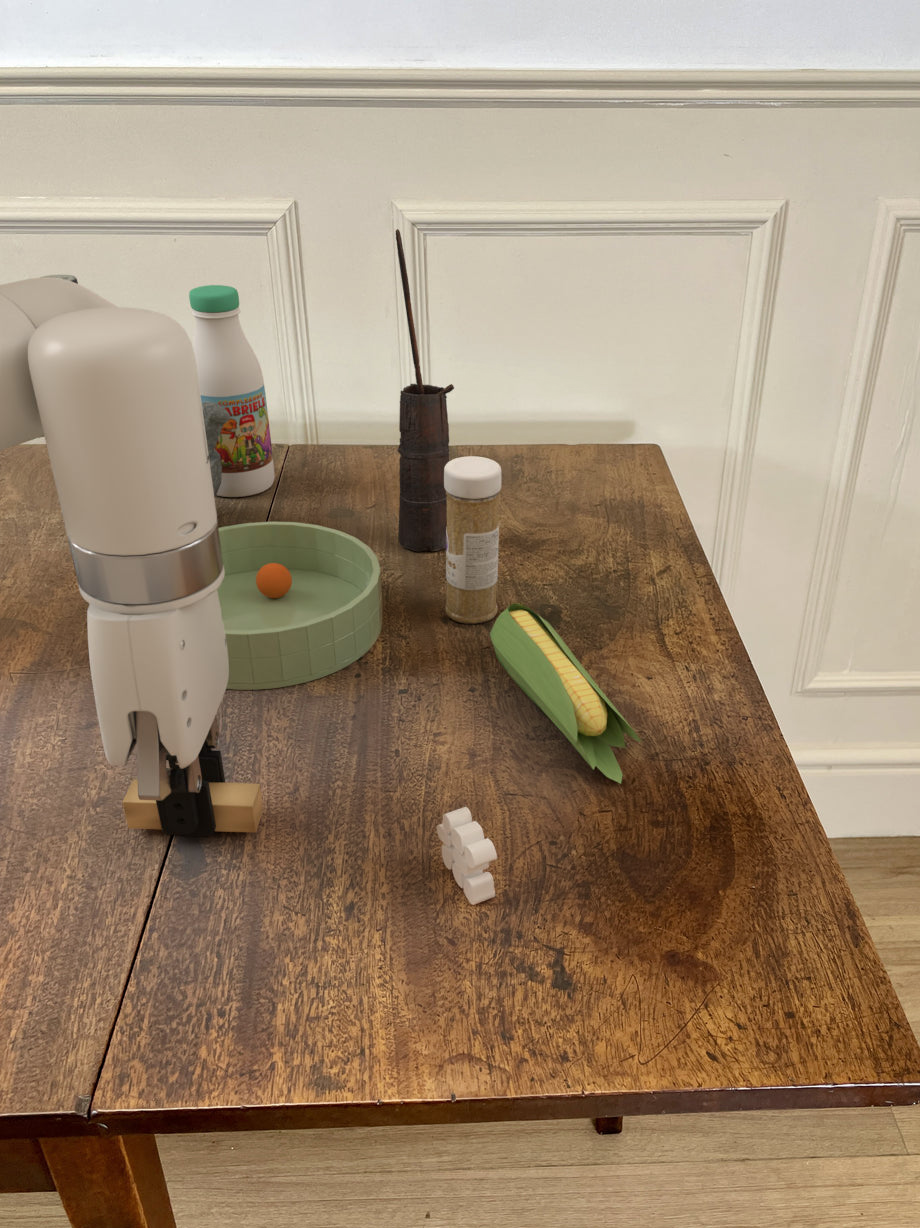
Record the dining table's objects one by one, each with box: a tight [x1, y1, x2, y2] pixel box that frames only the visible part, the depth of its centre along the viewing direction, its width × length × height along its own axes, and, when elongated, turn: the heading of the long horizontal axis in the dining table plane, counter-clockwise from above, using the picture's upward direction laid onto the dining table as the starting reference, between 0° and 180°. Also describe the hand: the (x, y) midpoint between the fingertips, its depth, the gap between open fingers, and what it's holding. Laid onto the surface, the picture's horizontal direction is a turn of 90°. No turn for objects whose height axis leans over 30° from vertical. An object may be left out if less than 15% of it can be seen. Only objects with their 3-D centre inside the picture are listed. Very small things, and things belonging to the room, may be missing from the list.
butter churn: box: [395, 228, 455, 552], centre depth 93 cm, size 9×10×28 cm
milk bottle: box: [188, 284, 276, 498], centre depth 105 cm, size 8×8×20 cm
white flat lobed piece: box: [436, 806, 498, 906], centre depth 61 cm, size 5×1×4 cm, turn 29°
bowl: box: [217, 521, 384, 691], centre depth 85 cm, size 19×19×5 cm
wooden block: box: [122, 779, 264, 833], centre depth 65 cm, size 8×2×2 cm, turn 89°
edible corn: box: [489, 602, 643, 785], centre depth 76 cm, size 5×20×5 cm, turn 23°
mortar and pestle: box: [202, 401, 230, 499], centre depth 99 cm, size 11×9×12 cm
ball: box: [256, 563, 292, 598], centre depth 89 cm, size 3×3×3 cm
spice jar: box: [444, 455, 502, 625], centre depth 85 cm, size 5×5×13 cm
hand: (195, 814), depth 65 cm, fingers closed on wooden block, 2 cm apart
